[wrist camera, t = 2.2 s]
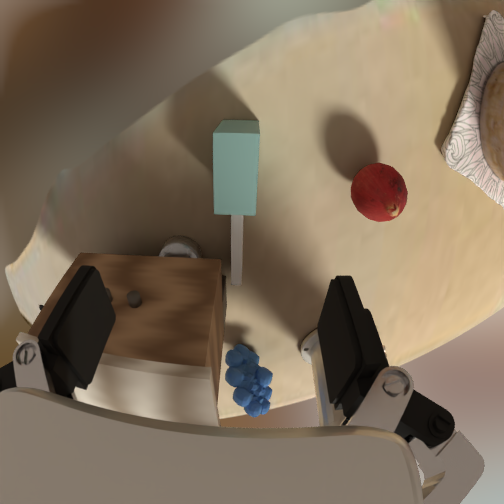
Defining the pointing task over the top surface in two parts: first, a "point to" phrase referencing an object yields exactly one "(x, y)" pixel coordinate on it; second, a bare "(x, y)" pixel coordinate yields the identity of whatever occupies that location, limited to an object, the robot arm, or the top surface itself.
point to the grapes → (248, 380)
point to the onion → (379, 192)
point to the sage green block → (236, 180)
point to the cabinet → (156, 336)
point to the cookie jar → (482, 116)
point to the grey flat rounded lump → (180, 248)
